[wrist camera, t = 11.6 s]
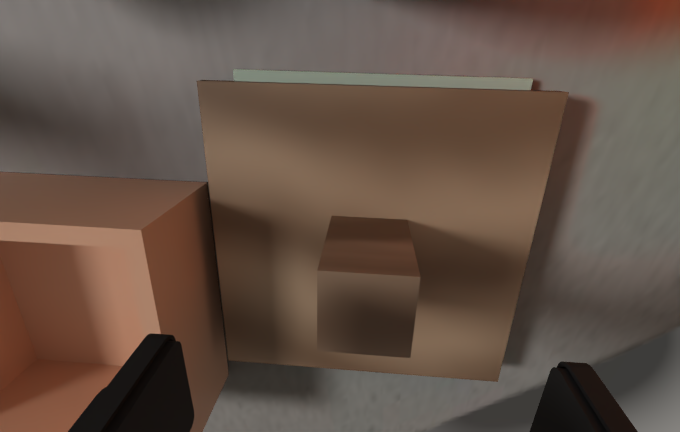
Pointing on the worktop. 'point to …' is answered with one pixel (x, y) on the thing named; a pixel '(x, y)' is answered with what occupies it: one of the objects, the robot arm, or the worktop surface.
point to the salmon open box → (102, 291)
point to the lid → (374, 220)
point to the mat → (382, 79)
